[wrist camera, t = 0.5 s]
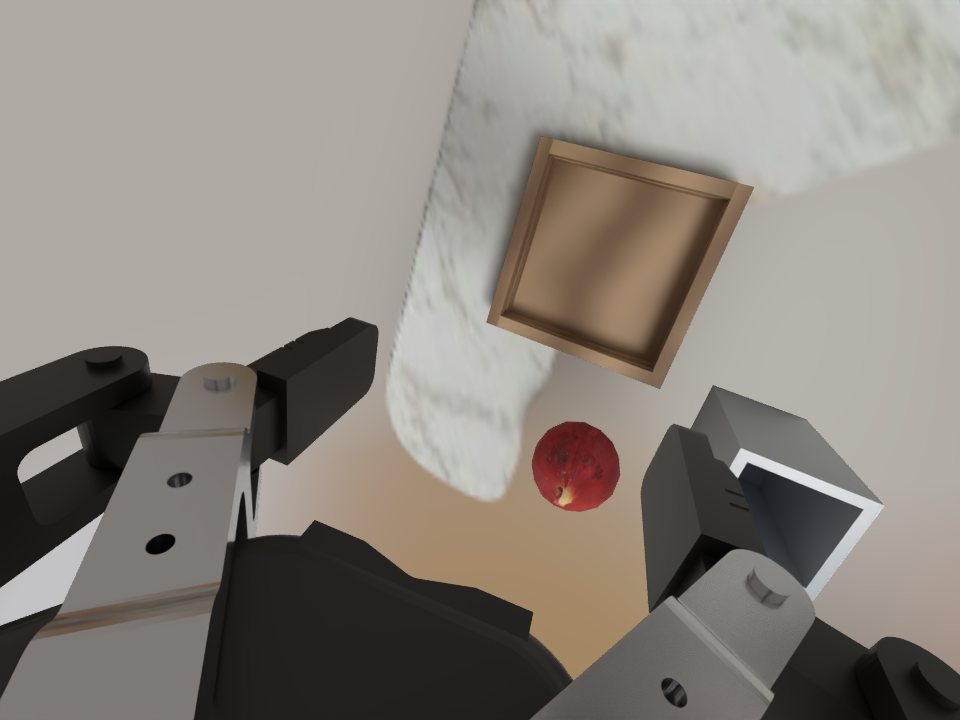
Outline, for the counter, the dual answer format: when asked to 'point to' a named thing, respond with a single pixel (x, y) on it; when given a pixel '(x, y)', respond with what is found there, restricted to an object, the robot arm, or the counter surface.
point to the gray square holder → (789, 485)
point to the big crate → (613, 256)
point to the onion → (575, 466)
